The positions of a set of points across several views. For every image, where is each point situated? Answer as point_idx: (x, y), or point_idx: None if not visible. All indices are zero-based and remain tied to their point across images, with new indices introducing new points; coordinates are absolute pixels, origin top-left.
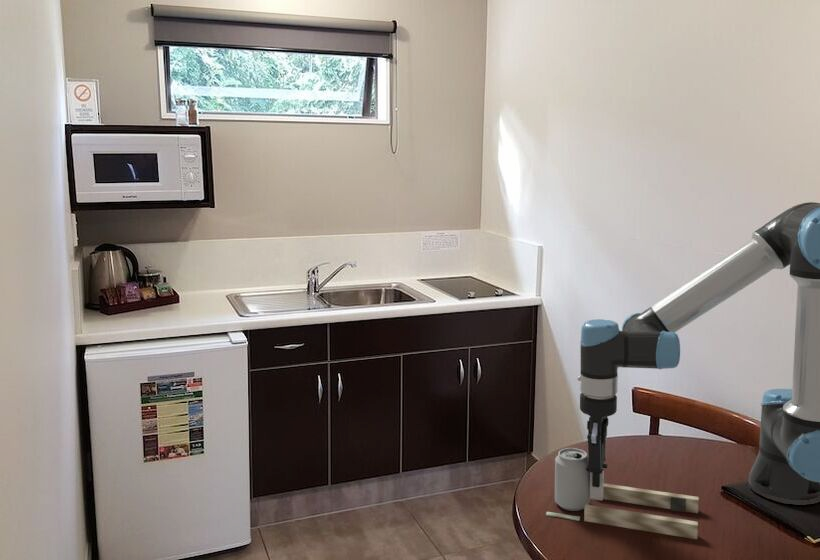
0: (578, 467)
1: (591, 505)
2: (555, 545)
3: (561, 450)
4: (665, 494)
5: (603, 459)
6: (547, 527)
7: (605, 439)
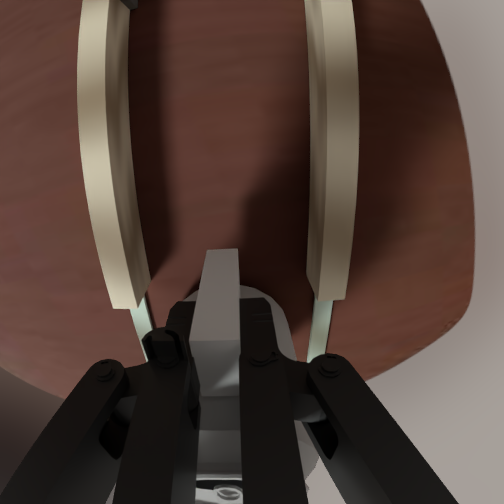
0: (310, 447)
1: (321, 281)
2: (449, 303)
3: None
4: (100, 11)
5: (173, 401)
6: (379, 342)
7: (34, 489)
